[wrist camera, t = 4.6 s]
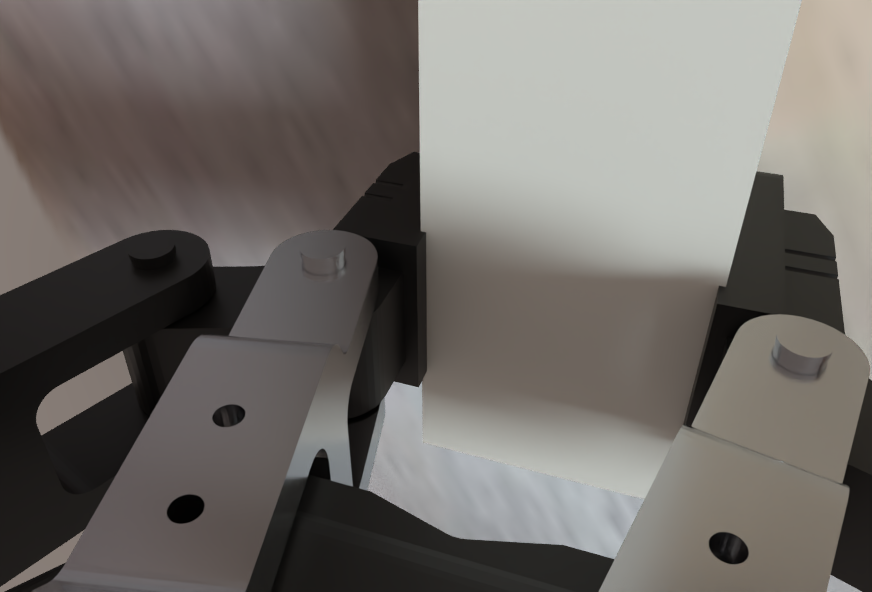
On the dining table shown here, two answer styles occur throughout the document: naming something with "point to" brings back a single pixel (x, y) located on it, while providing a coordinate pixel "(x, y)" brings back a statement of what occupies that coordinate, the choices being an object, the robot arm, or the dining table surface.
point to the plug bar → (583, 217)
